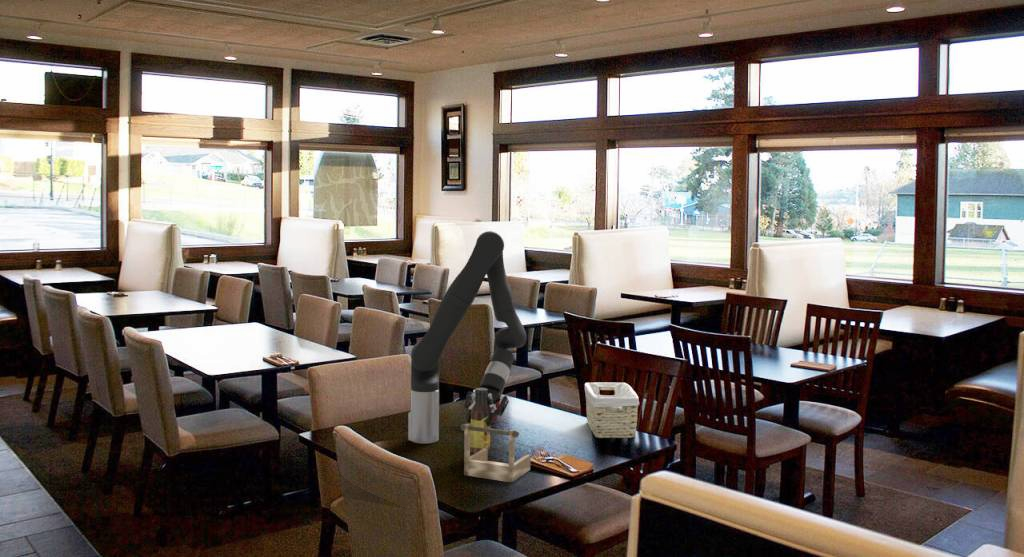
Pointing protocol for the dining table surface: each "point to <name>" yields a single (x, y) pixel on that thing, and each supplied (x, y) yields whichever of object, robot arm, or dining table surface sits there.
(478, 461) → the wooden table caddy
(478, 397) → the sauce bottle
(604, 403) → the storage basket
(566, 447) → the dining table surface
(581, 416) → the dining table surface
